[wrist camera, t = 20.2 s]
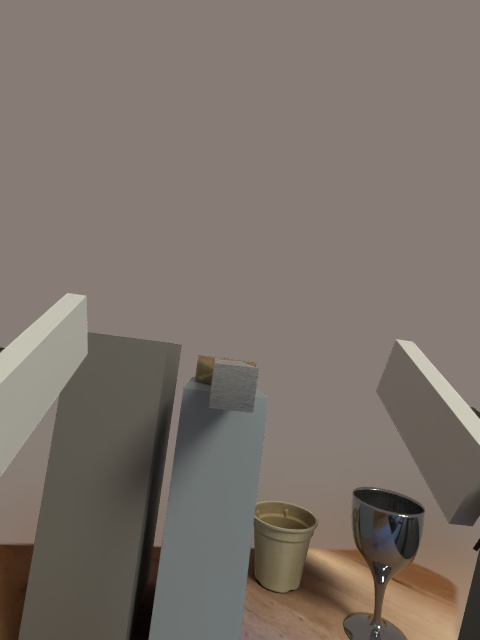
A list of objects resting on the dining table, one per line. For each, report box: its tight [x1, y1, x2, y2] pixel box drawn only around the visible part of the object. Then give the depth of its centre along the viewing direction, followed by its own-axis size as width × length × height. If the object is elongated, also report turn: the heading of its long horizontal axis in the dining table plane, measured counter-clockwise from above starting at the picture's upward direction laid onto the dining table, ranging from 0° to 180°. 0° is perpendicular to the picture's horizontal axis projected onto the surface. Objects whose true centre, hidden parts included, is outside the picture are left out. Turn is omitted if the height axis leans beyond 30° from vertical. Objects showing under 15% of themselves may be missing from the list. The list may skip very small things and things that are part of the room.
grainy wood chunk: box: [195, 356, 258, 413], centre depth 37 cm, size 7×23×3 cm, turn 4°
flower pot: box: [253, 501, 318, 593], centre depth 52 cm, size 9×9×9 cm
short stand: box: [149, 377, 268, 640], centre depth 41 cm, size 8×15×26 cm, turn 4°
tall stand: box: [18, 332, 182, 640], centre depth 41 cm, size 9×15×30 cm, turn 4°
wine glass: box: [344, 487, 425, 640], centre depth 43 cm, size 8×8×15 cm
